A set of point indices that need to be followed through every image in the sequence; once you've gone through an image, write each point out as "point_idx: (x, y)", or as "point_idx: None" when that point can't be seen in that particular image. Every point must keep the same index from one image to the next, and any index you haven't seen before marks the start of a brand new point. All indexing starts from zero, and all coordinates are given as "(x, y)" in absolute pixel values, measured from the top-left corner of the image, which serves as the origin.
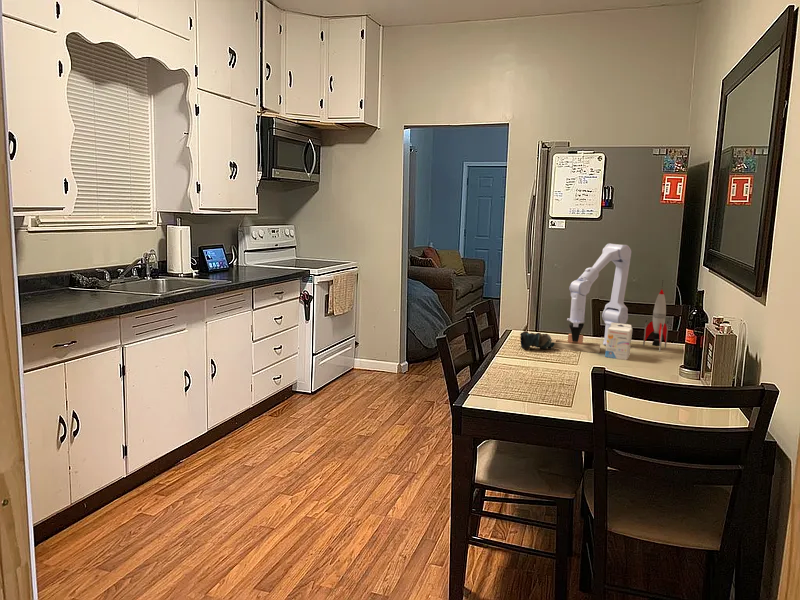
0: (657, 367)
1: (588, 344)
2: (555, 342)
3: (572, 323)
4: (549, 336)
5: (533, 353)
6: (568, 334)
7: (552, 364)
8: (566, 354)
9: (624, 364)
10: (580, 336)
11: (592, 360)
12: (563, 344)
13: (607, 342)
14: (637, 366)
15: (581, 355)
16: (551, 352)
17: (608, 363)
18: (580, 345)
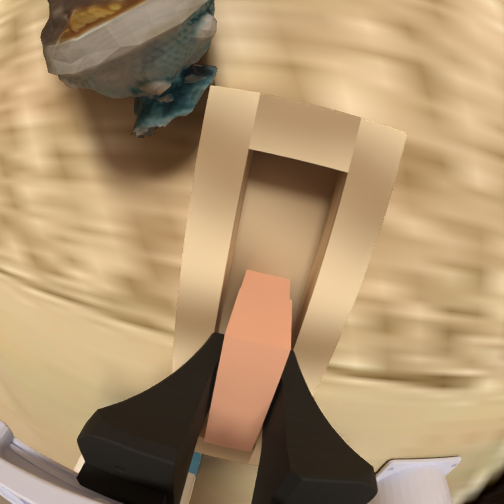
0: None
1: None
2: (211, 146)
3: (328, 499)
4: (57, 67)
5: (31, 7)
6: (233, 338)
7: None
8: (54, 219)
9: (39, 416)
10: (208, 423)
11: (16, 332)
12: (187, 228)
13: (74, 468)
14: (43, 436)
15: (73, 311)
16: (71, 111)
17: (16, 374)
18: (173, 363)
